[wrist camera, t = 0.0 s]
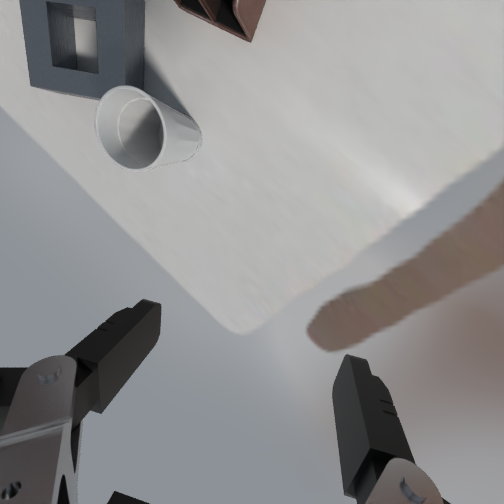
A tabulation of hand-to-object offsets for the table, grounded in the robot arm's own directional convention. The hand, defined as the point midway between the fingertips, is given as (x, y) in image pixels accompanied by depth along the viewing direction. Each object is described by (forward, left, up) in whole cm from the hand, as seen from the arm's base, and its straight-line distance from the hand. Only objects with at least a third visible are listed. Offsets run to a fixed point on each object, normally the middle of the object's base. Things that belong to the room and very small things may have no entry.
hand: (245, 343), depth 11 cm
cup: (-7, -17, -30) cm, 35 cm away
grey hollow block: (-16, -30, -29) cm, 45 cm away
